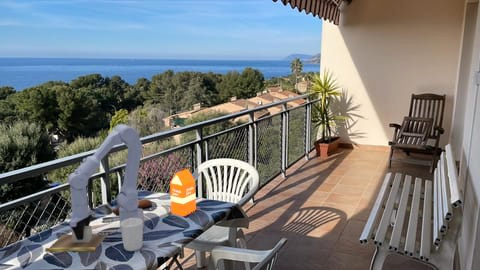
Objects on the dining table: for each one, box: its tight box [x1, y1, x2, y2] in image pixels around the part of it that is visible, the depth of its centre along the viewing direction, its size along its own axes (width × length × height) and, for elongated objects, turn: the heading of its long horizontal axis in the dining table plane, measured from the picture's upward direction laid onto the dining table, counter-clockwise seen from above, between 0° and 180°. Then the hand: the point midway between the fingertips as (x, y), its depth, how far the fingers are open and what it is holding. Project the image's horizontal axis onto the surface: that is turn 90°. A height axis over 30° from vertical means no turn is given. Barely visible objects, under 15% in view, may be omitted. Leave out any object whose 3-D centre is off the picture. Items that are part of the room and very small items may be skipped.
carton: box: [71, 225, 93, 242], centre depth 145 cm, size 4×6×5 cm, turn 90°
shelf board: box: [44, 233, 108, 253], centre depth 143 cm, size 18×14×2 cm
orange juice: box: [169, 168, 197, 217], centre depth 173 cm, size 8×9×20 cm
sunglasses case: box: [110, 199, 153, 217], centre depth 178 cm, size 18×7×7 cm, turn 131°
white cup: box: [120, 218, 144, 252], centre depth 139 cm, size 8×8×10 cm
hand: (82, 236), depth 145 cm, fingers closed on carton, 4 cm apart
